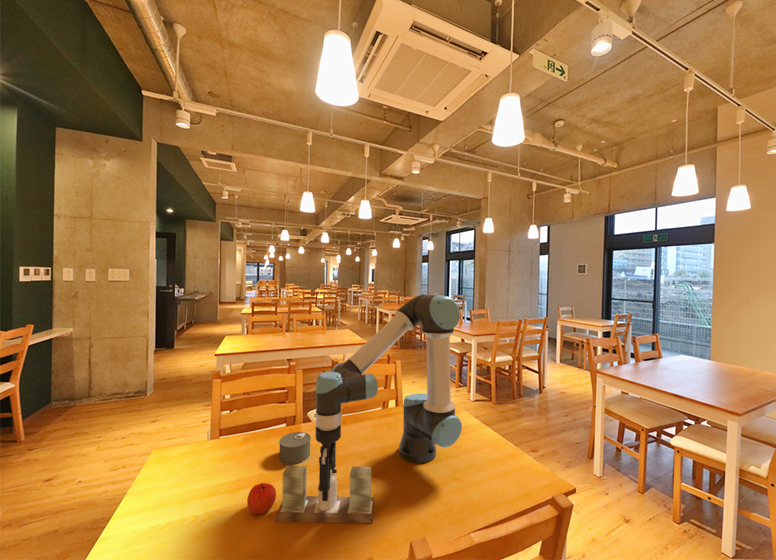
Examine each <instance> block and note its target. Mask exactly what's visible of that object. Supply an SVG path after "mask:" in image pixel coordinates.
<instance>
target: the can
mask: <svg viewBox="0 0 776 560" xmlns="http://www.w3.org/2000/svg"><path fill="white" fill-rule="evenodd" d="M311 439H312V436H311V435H310V434H309V433H307V432H303V431H295V432H290V433H287V434H285V435H283V436H281V437H280V439H279V441H278V442H279V462H280V463H282V465H286V466H296V465H298V464H301V463H304V462H305V460H306V459H307V460H309V458H310V457H311ZM309 456H310V457H309ZM308 457H309V458H308ZM307 460H306V461H307ZM303 461H304V462H303Z"/></svg>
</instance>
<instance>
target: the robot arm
mask: <svg viewBox="0 0 776 560" xmlns="http://www.w3.org/2000/svg"><path fill="white" fill-rule="evenodd" d="M460 318H461V310H460V307H459V305H458V303H457V302H456V301H455V300H454V299H453V298H452V297H450V296H446V295H443V294H442V295H441V294H436V295H435V294H418V295H416V296H414V297H411V299H409V300H408V301H407V302H405V303H404V304H403V305H402V306H401V307H399V308H398V309H397V310H396V311H395V313H394V316H393V317H392V318H390V320H389V321H388V322H387V323H386V324H385V325H384V326H383V327H381V329H380V330H378V331H377V332H376V333H375V334H374V335H373V336H372V337H370V338H369V339H368V340H367V341H366V342H365V343H364V344H363V345H362V346H361V347H360V348H359V349H357V351H355V352H354V353H353V354H352V355H351V356H350V357H348V358H347V360H346V361H345V362H344V363H338V364H336V365H334V366H333V367H332V368H331V370H330V371H325V372H321V373H320V374H318V375H317V377H316V385H315V413H314V414H313V417H314V418H315V425H316V426H315V440H316V441H317V442H318V443H320V444H322V445H321V446H320V449H319V452H320V456H319V457H318V463H319V469H318V471H319V473H318V475H319V479H318V481H319V483H318V488H317V490H318V489H319V491H321V510H330V508H331V486H330V471H331V470H332V475H333V476H335V474H337V473H338V469H335V468H336V466H337V465H336V461H337V460H336V454H337V453H336V451H337V450H336V449H337V447H336V445H337V442H338V441H339V440H340V439H341V435H342V433H341V432H342V428H341V427H342V405H343V404H347V403H352V402H357V401H358V402H359V401H363V400H365V401H366V400H368V399H373V398H375V397H376V396H377V394H378V390H379V389H378V388H379V387H378V381H377V378H376V376H375V375H374V374H372V373H365V372H366V371H367V370H369V368H371V366H372V365H374V364H375V363H376V362H377V361H379V358H381V357H382V356H383V355H384V354H385V353H386V352H388V350H390V348H391V347H393V345H395V343H397V341H398V340H400V339H401V338H402V336H404V335H405V333H407V331H413V330H414V329H415V327H417V326H420V325H421V333H422V334H423V335H425V339H426V341H425V342H426V343H425V344H426V348H425V349H426V393H413V394H412V393H411V394H408V395H406V396H405V397H404V398H403V405H402V407H403V423H402V424H403V427H402V428H403V429H402V430H403V431H402V435H401V439H400V442H399V444H398V453H399V456H400V455H401V456H400V457H401V458H402V459H404V460H406V461H407V462H411V463H416V464H423V463H424V464H425V463H428V462H431V461H433V460H434V459H435V458H436V456H437V447H436V445H437V446H439V447H441V448H448V447H451V446H453V445H454V444H455V443H456V442H457V440H458V439H459V438H460V436H461V433H462V429H463V424H462V420H461V419H460V418H459V416H456V405H455V404H454V403H453V401H451V399H452V397H451V396H452V395H451V350H450V349H451V347H450V345H451V344H450V343H451V342H450V337H451V336H452V335H453V334H454V333H455V332H454V329H455V327H457V326H458V323H459V322H460Z"/></svg>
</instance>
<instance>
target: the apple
mask: <svg viewBox="0 0 776 560" xmlns="http://www.w3.org/2000/svg"><path fill="white" fill-rule="evenodd" d="M276 499H277V490H276V487H275V486H274V485H273V484H271V483H269V482H268V483H267V482H260V483H257V484H255V485H254V486H252V488H250V491H249V493H248V495H247V500H246V501H247V502H246V503H247V508H248V509H249V511H250V512H251V513H253V514H254V515H255V514H256V515H262V514H264V513H266V512H268V511H270V510H271V509H272V507H273V505H274V504H275V501H276Z"/></svg>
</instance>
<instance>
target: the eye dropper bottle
mask: <svg viewBox="0 0 776 560" xmlns="http://www.w3.org/2000/svg"><path fill="white" fill-rule="evenodd" d="M337 480H338V479H337V477H336V476H335V475H334V476H333V475H332V470H331V471H330V486H331V507H332V506H333V505H334V504H335V503H336V500H337V497H338V496H337V493H338V492H337V491H338V490H337V489H338V487H337V485H338V483H337V482H338V481H337ZM317 490H318V495H317V496H318V507H319V509H320V510H321V491H319V489H318V488H317ZM321 511H325V510H321Z"/></svg>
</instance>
